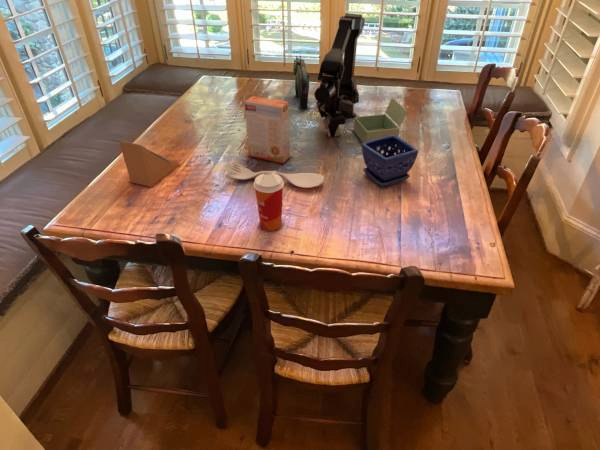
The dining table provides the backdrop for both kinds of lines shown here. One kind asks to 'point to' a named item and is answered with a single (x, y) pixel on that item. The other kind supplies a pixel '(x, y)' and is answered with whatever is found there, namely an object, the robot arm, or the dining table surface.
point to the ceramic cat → (301, 82)
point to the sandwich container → (144, 164)
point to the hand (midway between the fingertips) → (329, 132)
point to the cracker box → (268, 129)
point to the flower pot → (388, 160)
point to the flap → (396, 112)
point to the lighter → (328, 129)
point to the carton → (374, 127)
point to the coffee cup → (269, 200)
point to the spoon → (297, 179)
